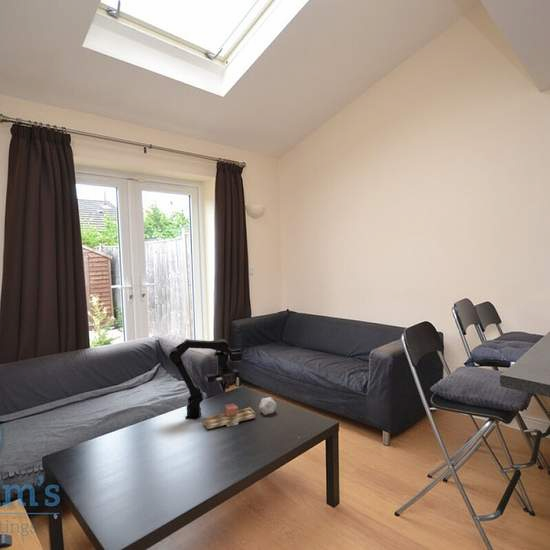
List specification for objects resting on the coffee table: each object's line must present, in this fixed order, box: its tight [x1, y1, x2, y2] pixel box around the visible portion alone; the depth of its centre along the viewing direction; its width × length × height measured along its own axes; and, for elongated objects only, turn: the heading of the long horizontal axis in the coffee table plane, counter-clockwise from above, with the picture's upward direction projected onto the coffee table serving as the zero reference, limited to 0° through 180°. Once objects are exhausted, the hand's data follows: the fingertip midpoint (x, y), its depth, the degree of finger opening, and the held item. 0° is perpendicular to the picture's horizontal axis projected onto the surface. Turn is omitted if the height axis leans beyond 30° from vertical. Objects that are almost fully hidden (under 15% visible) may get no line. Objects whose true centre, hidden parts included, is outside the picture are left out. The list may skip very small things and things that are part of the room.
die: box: [258, 396, 277, 416], centre depth 196 cm, size 8×9×10 cm
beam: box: [202, 406, 256, 430], centre depth 187 cm, size 26×10×4 cm, turn 117°
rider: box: [224, 403, 239, 417], centre depth 187 cm, size 5×6×5 cm
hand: (223, 390), depth 197 cm, fingers closed
